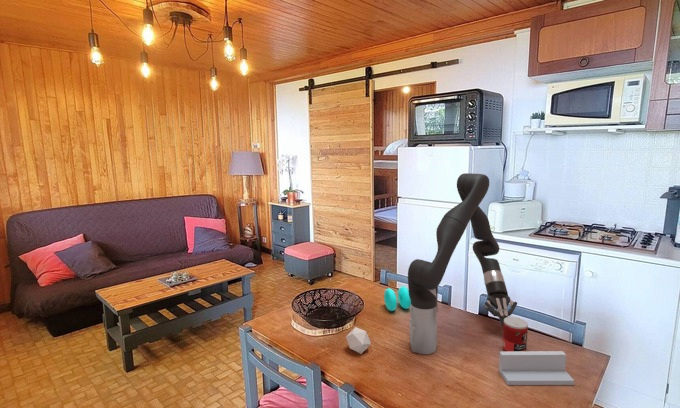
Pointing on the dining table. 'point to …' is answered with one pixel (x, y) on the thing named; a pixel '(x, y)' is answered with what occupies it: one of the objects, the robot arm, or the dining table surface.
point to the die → (358, 340)
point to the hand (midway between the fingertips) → (505, 326)
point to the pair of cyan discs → (392, 300)
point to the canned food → (515, 334)
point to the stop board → (534, 368)
